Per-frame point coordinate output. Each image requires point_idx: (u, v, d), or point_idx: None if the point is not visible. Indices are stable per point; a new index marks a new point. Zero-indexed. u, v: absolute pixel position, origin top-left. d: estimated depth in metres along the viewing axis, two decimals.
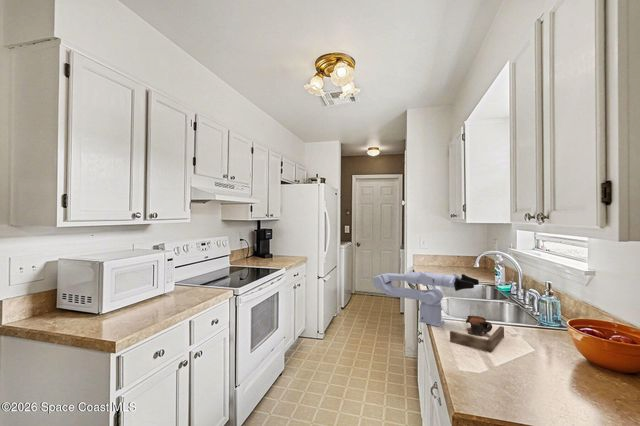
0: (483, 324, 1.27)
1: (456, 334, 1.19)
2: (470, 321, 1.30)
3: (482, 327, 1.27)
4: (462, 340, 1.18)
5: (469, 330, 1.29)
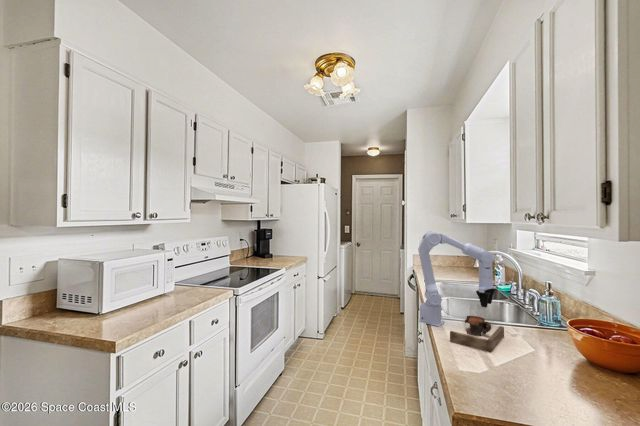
0: (482, 324, 1.27)
1: (456, 334, 1.19)
2: (469, 321, 1.30)
3: (481, 327, 1.27)
4: (462, 340, 1.18)
5: (468, 330, 1.29)
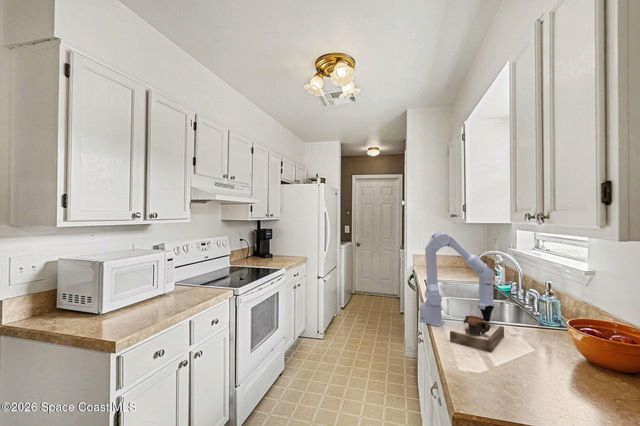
0: (481, 324, 1.27)
1: (456, 334, 1.19)
2: (468, 321, 1.30)
3: (480, 327, 1.27)
4: (462, 340, 1.18)
5: (467, 330, 1.29)
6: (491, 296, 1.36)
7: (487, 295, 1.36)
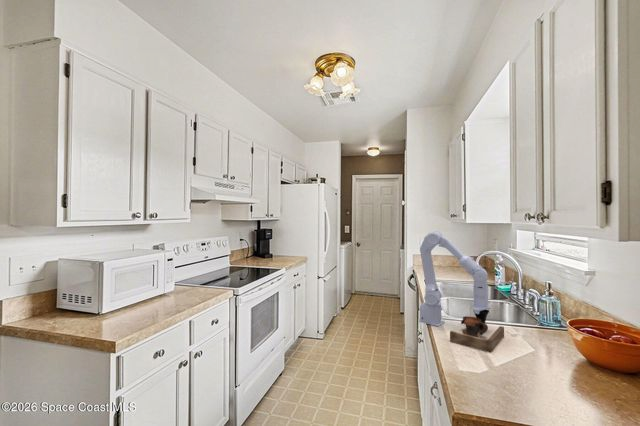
0: (478, 325, 1.26)
1: (456, 334, 1.19)
2: (465, 322, 1.29)
3: (478, 328, 1.25)
4: (462, 340, 1.18)
5: (464, 331, 1.27)
6: (486, 300, 1.30)
7: (482, 299, 1.30)
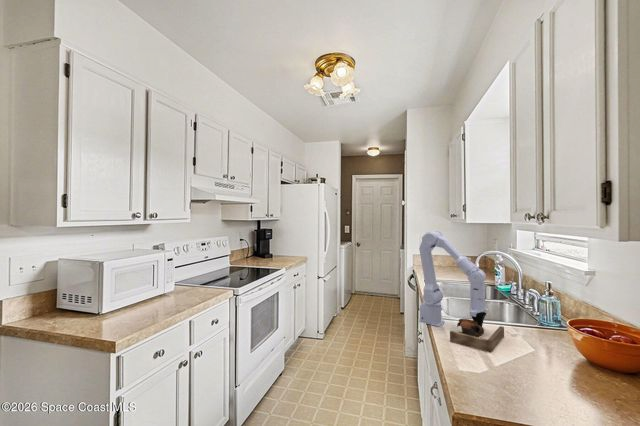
0: (474, 328, 1.23)
1: (456, 334, 1.19)
2: (461, 324, 1.26)
3: (474, 331, 1.22)
4: (462, 340, 1.18)
5: None
6: (483, 302, 1.27)
7: (479, 301, 1.27)
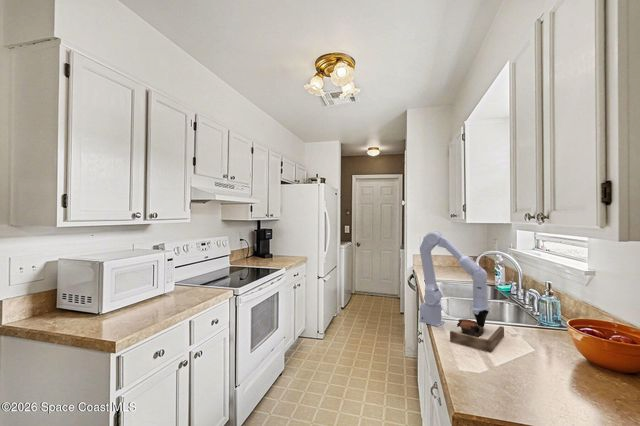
0: (474, 328, 1.23)
1: (456, 334, 1.19)
2: (461, 325, 1.26)
3: (474, 331, 1.22)
4: (462, 340, 1.18)
5: None
6: (485, 300, 1.30)
7: (481, 299, 1.29)
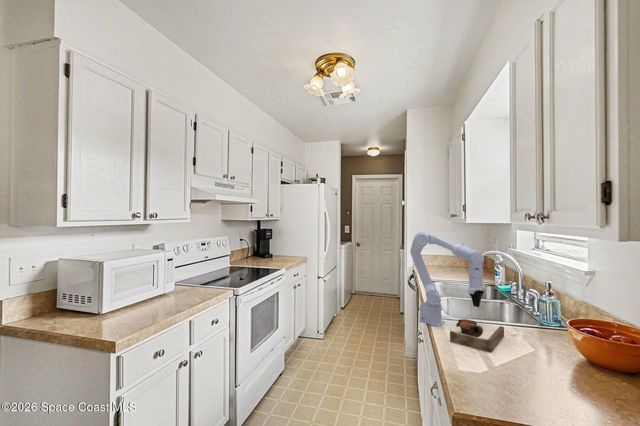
0: (474, 328, 1.23)
1: (456, 334, 1.19)
2: (460, 325, 1.26)
3: (473, 332, 1.22)
4: (462, 340, 1.18)
5: None
6: (481, 281, 1.35)
7: (477, 280, 1.35)
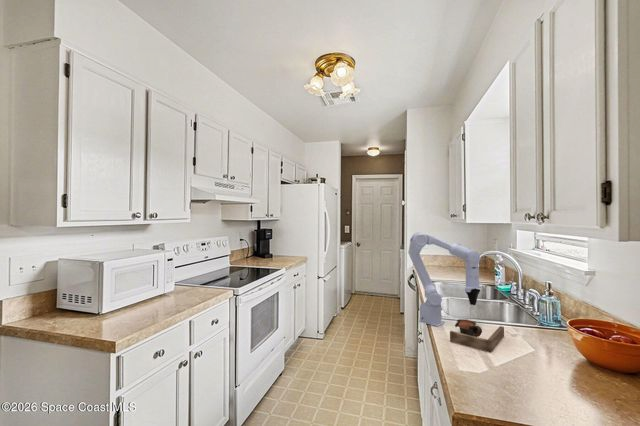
0: (473, 328, 1.23)
1: (456, 334, 1.19)
2: (459, 325, 1.25)
3: (472, 332, 1.22)
4: (462, 340, 1.18)
5: None
6: (477, 279, 1.38)
7: (473, 278, 1.38)
